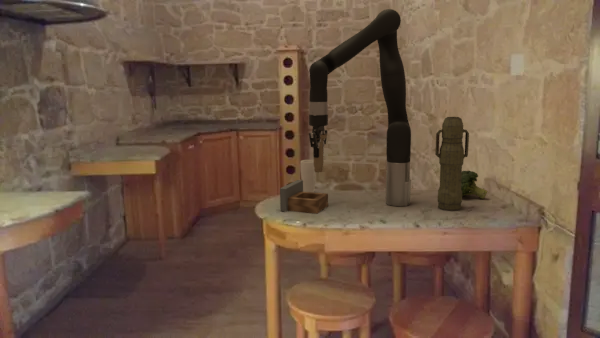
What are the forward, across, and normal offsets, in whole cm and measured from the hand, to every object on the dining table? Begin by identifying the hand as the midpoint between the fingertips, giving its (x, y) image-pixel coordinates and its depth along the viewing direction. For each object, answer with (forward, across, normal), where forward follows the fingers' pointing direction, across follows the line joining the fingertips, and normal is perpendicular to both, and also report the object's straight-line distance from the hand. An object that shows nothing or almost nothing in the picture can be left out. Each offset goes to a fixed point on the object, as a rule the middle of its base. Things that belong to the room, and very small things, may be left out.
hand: (318, 156), depth 190 cm
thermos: (+19, -12, +50) cm, 55 cm away
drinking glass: (+20, -14, -10) cm, 26 cm away
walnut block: (+20, +7, -1) cm, 21 cm away
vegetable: (+19, -33, +55) cm, 67 cm away
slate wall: (+20, +7, -8) cm, 23 cm away
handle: (+6, 0, 0) cm, 6 cm away
